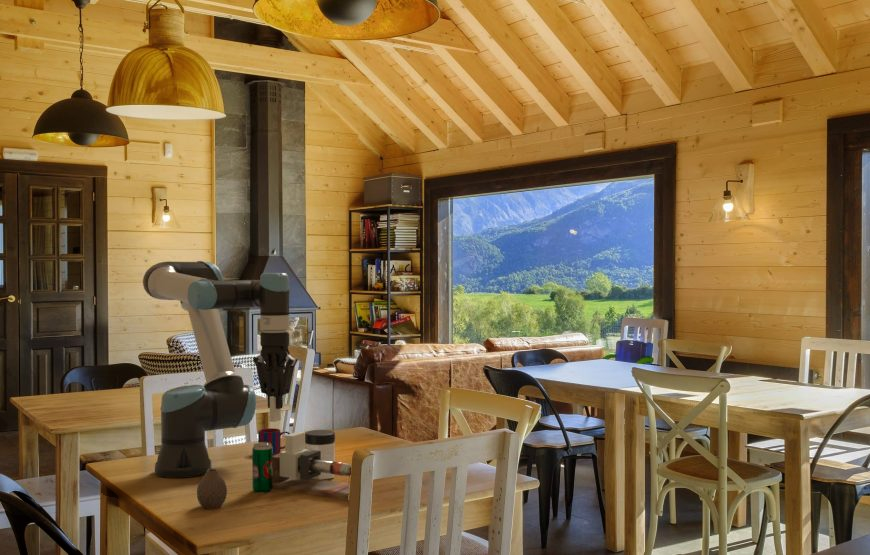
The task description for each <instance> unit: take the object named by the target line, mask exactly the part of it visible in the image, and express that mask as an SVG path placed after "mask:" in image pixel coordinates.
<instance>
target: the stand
mask: <svg viewBox="0 0 870 555" xmlns="http://www.w3.org/2000/svg"><path fill="white" fill-rule="evenodd" d="M350 475H351V467H350ZM349 483H350V482H339V481H333V480H332V481H331V480H327V479H324V480H319V479H312V478H311V479H308V480H303V479H300V477H298V478H289V477H282V476H280V453H278V454H275V455H273V489H272V490H279V491H286V492H292V493H297V494H298V493H300V494H304V495H305V494H306V495H312V496H319V497H325V498H332V499H338V500H339V499H340V500H346V501H349V500H348V495H349Z"/></svg>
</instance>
